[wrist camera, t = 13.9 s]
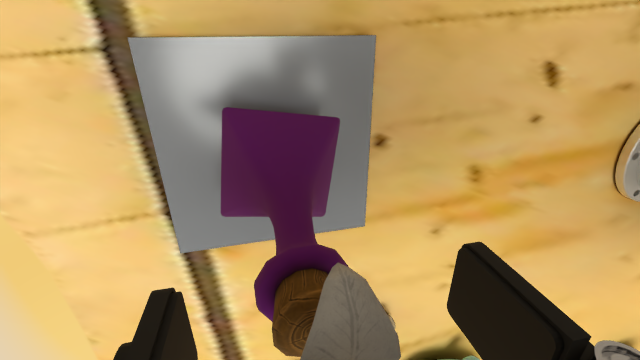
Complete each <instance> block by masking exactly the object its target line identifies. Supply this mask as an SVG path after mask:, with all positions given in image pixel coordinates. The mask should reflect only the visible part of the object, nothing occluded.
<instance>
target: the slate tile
mask: <svg viewBox="0 0 640 360" xmlns="http://www.w3.org/2000/svg"><path fill="white" fill-rule="evenodd" d="M128 41H129V45H130V49H131V53H132V57H133V62H134V66H135V70H136V74H137V78H138V82H139V86H140V90H141V94H142V98H143V102H144V106H145V111H146V115H147V119H148V123H149V127H150V131H151V135H152V139H153V143H154V147H155V151H156V155H157V159H158V164H159V168H160V172H161V176H162V180H163V184H164V188H165V192H166V196H167V200H168V204H169V208H170V213H171V217H172V221H173V225H174V229H175V233H176V237H177V241H178V245H179V249H180V253H185V252H192V251H199V250H205V249H212V248H219V247H226V246H233V245H240V244H247V243H253V242H260V241H267V240H274V239H275V234H274V227H273V225H272V222H271V220H270V218H269V217H224V216H222V215H221V213H220V212H221V148H222V110H223V108H226V107H230V108H241V109H252V110H263V111H274V112H285V113H296V114H307V115H318V116H329V117H337V118H339V119H340V127H339V134H338V140H337V146H336V152H335V158H334V164H333V170H332V177H331V183H330V189H329V195H328V201H327V207H326V213H325V215H324V216H322V217H312V220H313V227H314V234H315V233H322V232H329V231H336V230H342V229H349V228H356V227H363V226H365V215H366V198H367V181H368V164H369V147H370V130H371V113H372V96H373V79H374V62H375V45H376V35H357V36H252V37H148V38H128Z"/></svg>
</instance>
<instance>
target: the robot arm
mask: <svg viewBox="0 0 640 360" xmlns="http://www.w3.org/2000/svg"><path fill="white" fill-rule="evenodd" d="M615 179H616V185H617V188H618V190H619V192H620V193H621V194H622V195H624V196H625V197H627V198H629V199H632V200H635V201H637V202H640V124H639V125H638V126H637V128H636V129H635V130H634V132H633V133H632V134H631V136H630V137H629V139H628V140H627V142H626V144H625V145H624V147H623V150H622V152H621V154H620V156H619V159H618V163H617V166H616V173H615ZM447 309H448V312H449V314H450V316H451V317H452V318H453V320H454V321H455V323H456V324H457V325H458V327H459V328H460V329H461V331H462V332H463V333H464V335H465V336H466V338H467V339H468V340H469V342H470V343H471V344H472V346H473V347H474V348H475V350H476V351H477V353H478V354H479V355H480V357H481V358H482V359H483V360H640V351H638V350H636V349H634V348H632V347H630V346H628V345H625V344H623V343H619V342H615V341H601V342H598V343H597V344H596V345H595V346H593V345H592V344H591V343H590V342H589V340H590V338H591V336H590V335H589V334H588V333H587V332H585V331H584V330H583V329H582V328H581V327H580V326H578V325H577V324H576V323H575V322H574V321H573V320H571V319H570V318H569V317H568V316H567V315H566V314H565V313H563V312H562V311H561V310H560V309H559V308H558V307H556V306H555V305H554V304H553V303H552V302H551V301H549V300H548V299H547V298H546V297H545V296H544V295H543V294H541V293H540V292H539V291H538V290H537V289H536V288H534V287H533V286H532V285H531V284H530V283H529V282H527V281H526V280H525V279H524V278H523V277H522V276H521V275H519V274H518V273H517V272H516V271H515V270H514V269H512V268H511V267H510V266H509V265H508V264H507V263H505V262H504V261H503V260H502V259H501V258H500V257H499V256H497V255H496V254H495V253H494V252H493V251H492V250H490V249H489V248H488V247H487V246H486V245H485V244H483V243H482V242H475V243H468V244H464V245H463V246H462V248H461V249H460V250H459V251H458V255H457V259H456V264H455V269H454V273H453V278H452V283H451V287H450V292H449V297H448V301H447ZM113 360H198V356H197V349H196V345H195V341H194V338H193V334H192V330H191V326H190V322H189V318H188V314H187V311H186V307H185V303H184V299H183V295H182V293H181V292H176V291H175V289H174V288H168V289H161V290H155V291H152V292H151V294H150V296H149V299H148V302H147V304H146V307H145V309H144V312H143V315H142V317H141V320H140V322H139V325H138V328H137V330H136V333H135V335H134V338H133V340H132V342H129V343H124V344H122V345H121V346H120V347H119V349H118V351H117V352H116V355H115V357H114V359H113Z"/></svg>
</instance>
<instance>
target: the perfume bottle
mask: <svg viewBox="0 0 640 360" xmlns="http://www.w3.org/2000/svg"><path fill="white" fill-rule="evenodd" d="M339 127H340V119H339V118H337V117H329V116H318V115H307V114H296V113H285V112H274V111H263V110H252V109H241V108H230V107H226V108H223V110H222V148H221V212H220V213H221V215H222V216H224V217H269V218H270V220H271V222H272V225H273V227H274V234H275V240H276V256H274V257H273V258H271V259H270V260H268V261H267V262H266V263H265V265H264V267H263V268H262V270H261V272H260V273H259V275H258V277H257V278H256V280H255V283H254V289H255V297H256V305H257V307H258V310H259V311H260V312H262V313H263V314H264V315H265V316H266V317H267V318H269V319H270V320H271V321H272V322H273V324H272V333H273V342H274V346H275V347H276V348H277V349H279V350H280V351H281V352H282V353H284V354H285V355H286V356H296V357H301V359H300V360H399V359H400V357H401V354H400V347H399V339H398V335H397V333H396V331H395V329H394V327H393V325H392V323H391V321H390V319H389V317H388V315H387V314H386V312H385V310H384V309H383V307H382V305H381V304H380V302H379V300H378V299H377V297H376V296H375V294H374V292H373V291H372V289H371V287H370V286H369V284H368V282H367V281H366V279H364V278H363V277H362V276H360V275H359V274H357V273H356V272H355V271H353V270H352V269H350V268H349V267H348V265H347V264H346V263H345V261H344V260H343V259H342V258H341V256H340V255H339V254H338V253H337V251H336V250H334V249H331V248H328V247H325V246H322V245H319V244H317V242H316V239H315V234H314V227H313V220H312V217H322V216H324V215H325V213H326V207H327V201H328V195H329V189H330V183H331V177H332V170H333V164H334V158H335V152H336V146H337V140H338V134H339Z"/></svg>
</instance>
